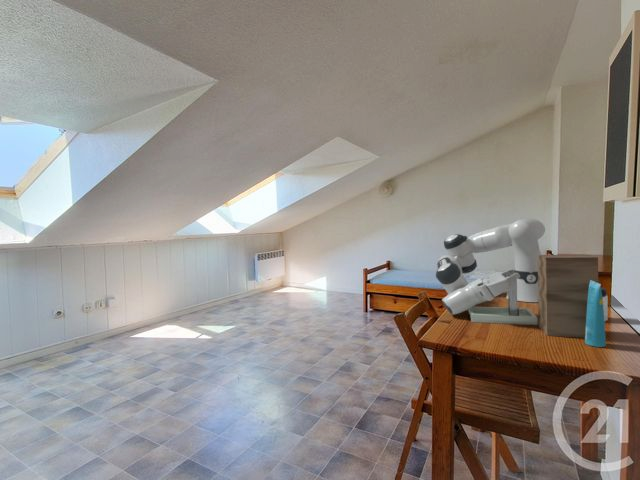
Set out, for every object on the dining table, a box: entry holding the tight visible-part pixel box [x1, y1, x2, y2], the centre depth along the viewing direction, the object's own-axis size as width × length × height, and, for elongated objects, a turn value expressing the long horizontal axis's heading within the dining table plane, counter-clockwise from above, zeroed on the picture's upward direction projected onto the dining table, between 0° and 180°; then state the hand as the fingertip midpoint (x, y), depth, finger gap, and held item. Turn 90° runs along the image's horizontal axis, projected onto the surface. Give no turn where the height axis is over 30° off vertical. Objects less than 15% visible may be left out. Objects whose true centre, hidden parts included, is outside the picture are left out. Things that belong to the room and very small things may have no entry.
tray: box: [468, 305, 538, 326], centre depth 130 cm, size 13×22×3 cm, turn 70°
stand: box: [537, 254, 599, 339], centre depth 112 cm, size 10×14×26 cm
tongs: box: [507, 273, 520, 316], centre depth 128 cm, size 3×17×3 cm
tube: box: [584, 280, 607, 348], centre depth 100 cm, size 7×5×19 cm, turn 165°
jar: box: [600, 286, 609, 322], centre depth 125 cm, size 9×8×12 cm
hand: (516, 272), depth 128 cm, fingers open, 8 cm apart
